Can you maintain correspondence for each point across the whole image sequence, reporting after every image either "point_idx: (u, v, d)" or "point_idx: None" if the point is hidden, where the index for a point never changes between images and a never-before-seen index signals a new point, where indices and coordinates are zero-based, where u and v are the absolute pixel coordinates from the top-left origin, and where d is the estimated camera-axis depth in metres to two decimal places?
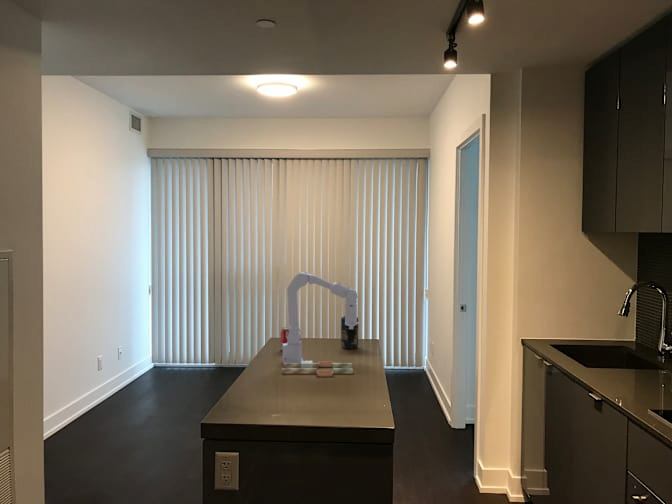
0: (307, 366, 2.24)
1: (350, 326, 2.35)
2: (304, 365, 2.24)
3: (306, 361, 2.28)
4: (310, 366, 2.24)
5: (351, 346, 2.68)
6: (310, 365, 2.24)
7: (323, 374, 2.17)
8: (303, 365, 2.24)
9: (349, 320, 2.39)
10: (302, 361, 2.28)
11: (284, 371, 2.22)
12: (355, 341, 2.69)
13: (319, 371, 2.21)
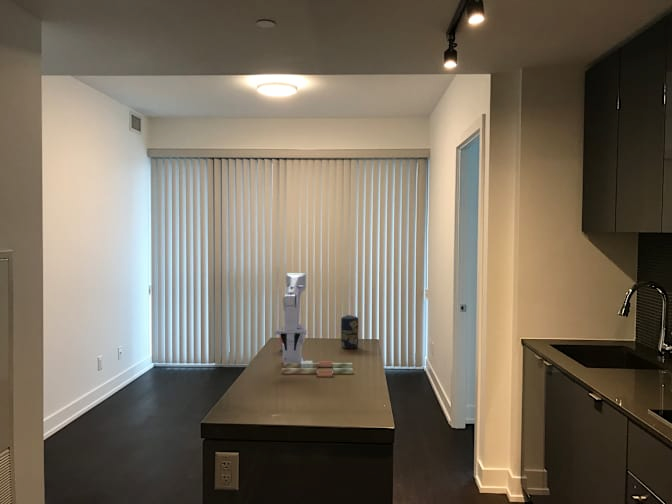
0: (307, 366, 2.24)
1: None
2: (304, 365, 2.24)
3: (306, 361, 2.28)
4: (310, 366, 2.24)
5: (351, 346, 2.68)
6: (310, 365, 2.24)
7: (323, 374, 2.17)
8: (303, 365, 2.24)
9: None
10: (302, 361, 2.28)
11: (284, 371, 2.22)
12: (355, 341, 2.69)
13: (319, 371, 2.21)
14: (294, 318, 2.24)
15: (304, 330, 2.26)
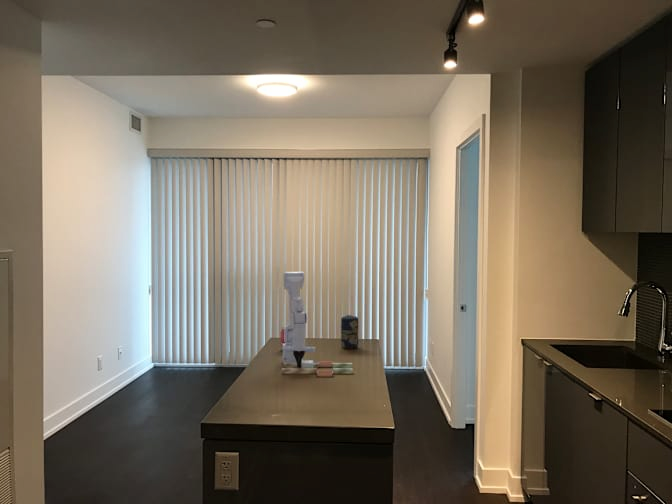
0: (308, 366, 2.24)
1: None
2: (305, 365, 2.24)
3: (307, 361, 2.28)
4: (311, 366, 2.24)
5: (351, 346, 2.68)
6: (311, 365, 2.24)
7: (323, 374, 2.17)
8: (304, 365, 2.24)
9: None
10: (303, 361, 2.28)
11: (284, 371, 2.22)
12: (355, 341, 2.69)
13: (319, 371, 2.21)
14: (304, 335, 2.25)
15: (313, 347, 2.26)
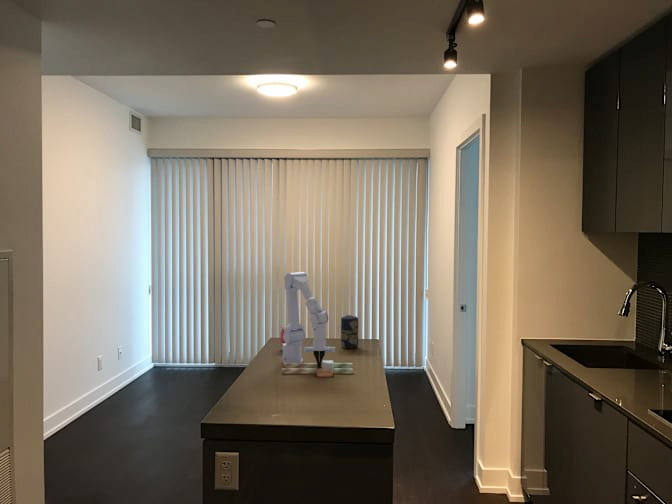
0: (328, 366, 2.24)
1: None
2: (325, 365, 2.24)
3: (327, 361, 2.28)
4: (331, 366, 2.24)
5: (351, 346, 2.68)
6: (331, 365, 2.24)
7: (323, 374, 2.17)
8: (324, 365, 2.24)
9: None
10: (323, 361, 2.28)
11: (284, 371, 2.22)
12: (355, 341, 2.69)
13: (319, 371, 2.21)
14: (325, 335, 2.26)
15: (333, 347, 2.26)
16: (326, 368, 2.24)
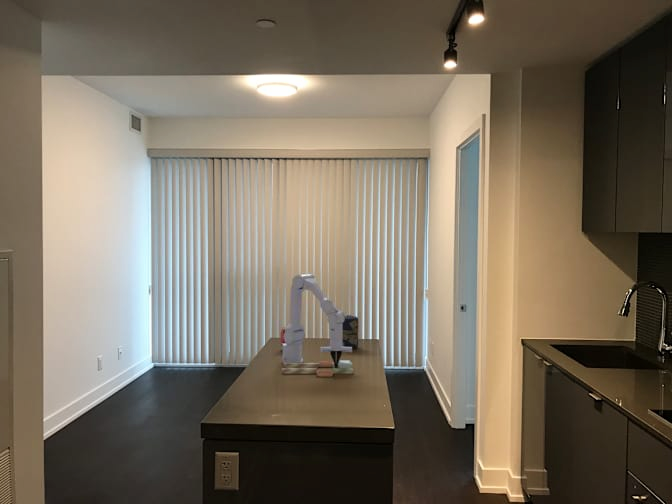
0: (345, 366, 2.24)
1: (320, 348, 2.27)
2: (342, 365, 2.24)
3: (344, 361, 2.28)
4: (348, 366, 2.24)
5: (351, 346, 2.68)
6: (348, 365, 2.24)
7: (323, 374, 2.17)
8: (341, 365, 2.24)
9: None
10: (340, 361, 2.28)
11: (284, 371, 2.22)
12: (355, 341, 2.69)
13: (319, 371, 2.21)
14: None
15: (350, 347, 2.26)
16: None
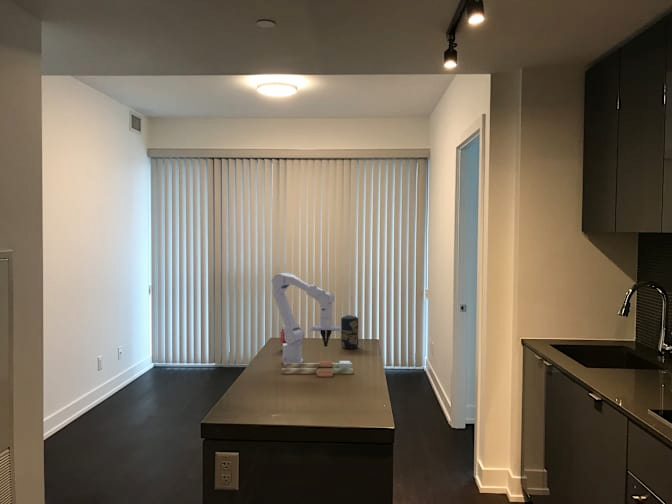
0: (345, 366, 2.24)
1: None
2: (342, 365, 2.24)
3: (344, 361, 2.28)
4: (348, 366, 2.24)
5: (351, 346, 2.68)
6: (348, 365, 2.24)
7: (323, 374, 2.17)
8: (341, 365, 2.24)
9: None
10: (340, 361, 2.28)
11: (284, 371, 2.22)
12: (355, 341, 2.69)
13: (319, 371, 2.21)
14: None
15: (339, 327, 2.35)
16: None
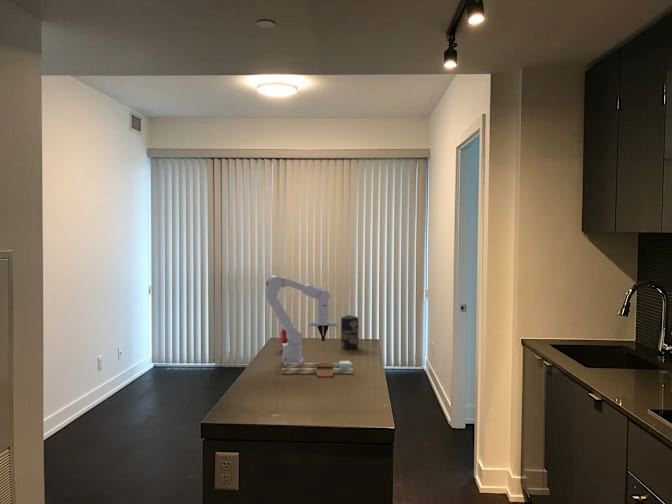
0: (345, 366, 2.24)
1: None
2: (342, 365, 2.24)
3: (344, 361, 2.28)
4: (348, 366, 2.24)
5: (351, 346, 2.68)
6: (348, 365, 2.24)
7: (323, 374, 2.17)
8: (341, 365, 2.24)
9: None
10: (340, 361, 2.28)
11: (284, 371, 2.22)
12: (355, 341, 2.69)
13: (319, 371, 2.21)
14: None
15: (336, 322, 2.46)
16: None
